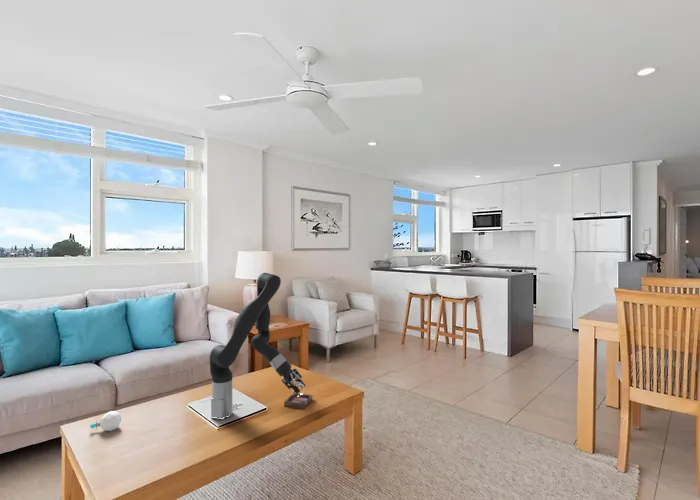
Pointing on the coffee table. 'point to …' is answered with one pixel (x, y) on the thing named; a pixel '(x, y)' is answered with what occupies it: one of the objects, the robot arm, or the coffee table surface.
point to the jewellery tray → (298, 401)
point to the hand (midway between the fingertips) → (301, 389)
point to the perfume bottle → (108, 421)
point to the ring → (302, 390)
